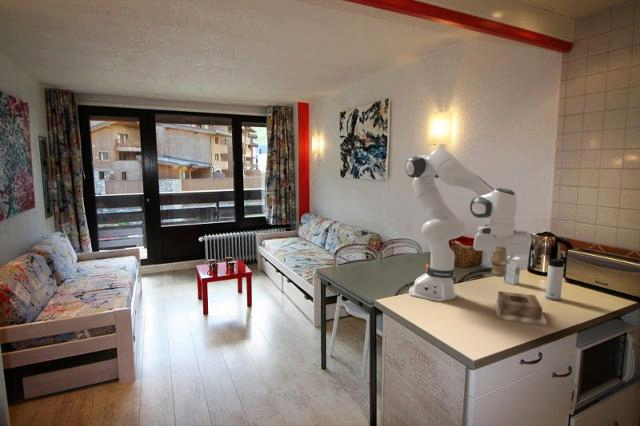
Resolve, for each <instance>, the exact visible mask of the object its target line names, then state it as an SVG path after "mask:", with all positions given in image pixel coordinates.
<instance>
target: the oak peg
mask: <svg viewBox="0 0 640 426" xmlns="http://www.w3.org/2000/svg"><path fill="white" fill-rule="evenodd" d="M492 257H493V262H491V275H492V276H493V277H497V278H504V277H505V271H506V259H507V257H508V253H506V248H502V247H496V252H492Z"/></svg>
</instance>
